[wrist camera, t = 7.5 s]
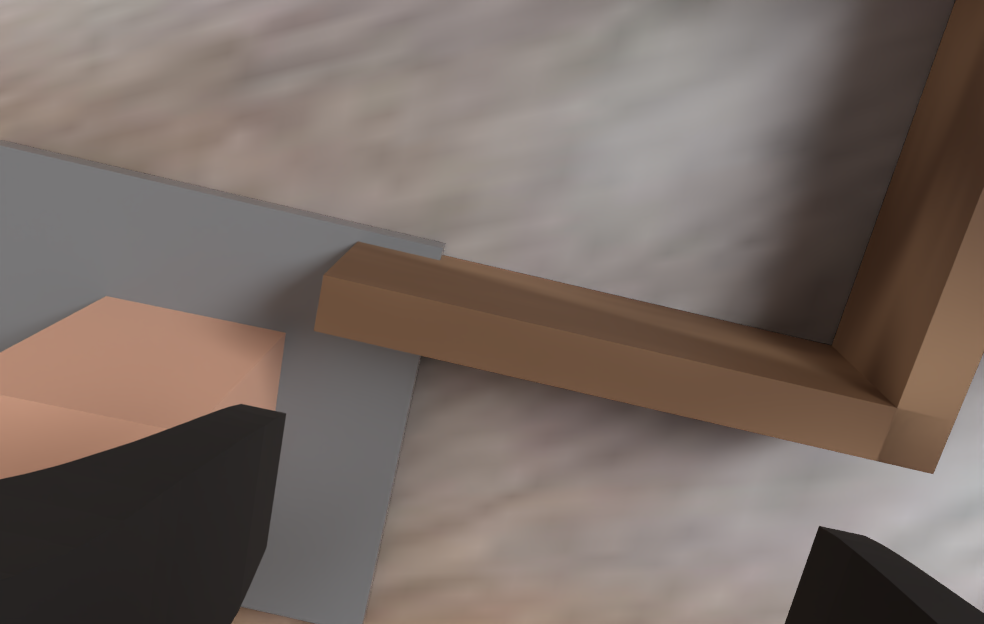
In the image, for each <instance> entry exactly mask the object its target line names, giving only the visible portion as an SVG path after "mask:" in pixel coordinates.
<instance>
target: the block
mask: <svg viewBox="0 0 984 624" xmlns="http://www.w3.org/2000/svg"><path fill="white" fill-rule="evenodd" d="M285 336H286V333H285V332H280V331H275V330H270V329H265V328H260V327H255V326H250V325H245V324H240V323H236V322H231V321H226V320H221V319H216V318H211V317H206V316H201V315H196V314H192V313H187V312H182V311H177V310H172V309H167V308H162V307H157V306H152V305H147V304H143V303H138V302H133V301H128V300H123V299H118V298H113V297H108V296H105V297H103V298H102V299H100V300H98V301H96V302H94V303H92V304H90V305H88V306H87V307H85V308H83V309H81V310H79V311H77V312H75V313H73V314H71V315H70V316H68V317H66V318H64V319H62V320H60V321H58V322H56V323H55V324H53V325H51V326H49V327H47V328H45V329H43V330H41V331H40V332H38V333H36V334H34V335H32V336H30V337H28V338H26V339H25V340H23V341H21V342H19V343H17V344H15V345H13V346H11V347H10V348H8V349H6V350H4V351H2V352H0V479H4V478H8V477H13V476H17V475H22V474H26V473H30V472H34V471H38V470H42V469H46V468H50V467H54V466H57V465H61V464H65V463H68V462H71V461H74V460H78V459H81V458H84V457H87V456H90V455H93V454H96V453H99V452H103V451H106V450H109V449H112V448H115V447H118V446H121V445H124V444H128V443H131V442H134V441H137V440H139V439H142V438H145V437H148V436H150V435H153V434H156V433H158V432H161V431H164V430H167V429H169V428H172V427H175V426H177V425H180V424H183V423H185V422H188V421H191V420H193V419H196V418H199V417H201V416H204V415H207V414H209V413H212V412H215V411H218V410H221V409H224V408H227V407H230V406H234V405H238V404H245V405H249V406H254V407H259V408H263V409H268V410H273V411H275V410H276V402H277V395H278V387H279V380H280V373H281V365H282V358H283V350H284V343H285Z"/></svg>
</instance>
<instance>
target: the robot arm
mask: <svg viewBox="0 0 984 624" xmlns="http://www.w3.org/2000/svg"><path fill="white" fill-rule="evenodd" d="M285 419H286V413H282V412H278V411H273V410H268V409H263V408H259V407H254V406H249V405H245V404H238V405H234V406H230V407H227V408H224V409H221V410H218V411H215V412H212V413H209V414H207V415H204V416H201V417H199V418H196V419H193V420H191V421H188V422H185V423H183V424H180V425H177V426H175V427H172V428H169V429H167V430H164V431H161V432H158V433H156V434H153V435H150V436H148V437H145V438H142V439H139V440H137V441H134V442H131V443H128V444H124V445H121V446H118V447H115V448H112V449H109V450H106V451H103V452H99V453H96V454H93V455H90V456H87V457H84V458H81V459H78V460H74V461H71V462H68V463H65V464H61V465H57V466H54V467H50V468H46V469H42V470H38V471H34V472H30V473H26V474H22V475H17V476H13V477H8V478H4V479H0V624H231V623H232V621H233V619H234V618H235V616H236V614H237V613H238V611H239V609H240V607H241V605H242V602H243V600H244V598H245V596H246V594H247V591H248V589H249V587H250V585H251V583H252V580H253V578H254V576H255V573H256V571H257V569H258V566H259V564H260V562H261V560H262V557H263V555H264V553H265V550H266V548H267V541H268V535H269V528H270V521H271V514H272V507H273V501H274V494H275V487H276V480H277V474H278V467H279V460H280V453H281V446H282V440H283V433H284V426H285ZM785 624H984V613H982V612H981V611H980V610H978V609H977V608H975V607H974V606H972V605H971V604H969V603H968V602H967V601H965V600H964V599H962V598H961V597H960V596H958V595H957V594H955V593H954V592H952V591H951V590H950V589H948V588H947V587H945V586H944V585H942V584H941V583H939V582H938V581H937V580H935V579H934V578H932V577H931V576H929V575H928V574H927V573H925V572H924V571H922V570H921V569H919V568H918V567H916V566H915V565H913V564H912V563H910V562H909V561H907V560H906V559H904V558H903V557H901V556H900V555H898V554H897V553H895V552H893V551H892V550H890V549H888V548H887V547H885V546H883V545H882V544H880V543H878V542H876V541H874V540H872V539H870V538H868V537H866V536H864V535H859V534H854V533H849V532H845V531H840V530H835V529H830V528H826V527H821V526H819V528H818V531H817V534H816V537H815V539H814V542H813V545H812V548H811V551H810V554H809V556H808V559H807V562H806V565H805V568H804V571H803V573H802V576H801V579H800V582H799V585H798V588H797V590H796V593H795V596H794V599H793V602H792V605H791V607H790V610H789V613H788V616H787V619H786V622H785Z"/></svg>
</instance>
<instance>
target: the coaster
mask: <svg viewBox="0 0 984 624" xmlns="http://www.w3.org/2000/svg"><path fill="white" fill-rule="evenodd" d="M358 241H359V242H363V243H367V244H372V245H376V246H380V247H384V248H389V249H393V250H397V251H402V252H406V253H410V254H415V255H419V256H423V257H427V258H432V259H436V260H441V258H442V256H443V252H444V247H445V243H442V242H437V241H433V240H429V239H425V238H420V237H416V236H412V235H407V234H403V233H399V232H394V231H390V230H386V229H382V228H377V227H373V226H369V225H364V224H360V223H356V222H352V221H347V220H343V219H339V218H334V217H330V216H326V215H321V214H317V213H313V212H309V211H304V210H300V209H296V208H291V207H287V206H283V205H278V204H274V203H270V202H266V201H261V200H257V199H253V198H248V197H244V196H240V195H236V194H231V193H227V192H223V191H218V190H214V189H210V188H205V187H201V186H197V185H193V184H188V183H184V182H180V181H175V180H171V179H167V178H163V177H158V176H154V175H150V174H145V173H141V172H137V171H132V170H128V169H124V168H120V167H115V166H111V165H107V164H102V163H98V162H94V161H89V160H85V159H81V158H77V157H72V156H68V155H64V154H59V153H55V152H51V151H47V150H42V149H38V148H34V147H29V146H25V145H21V144H16V143H12V142H8V141H4V140H0V352H2V351H4V350H6V349H8V348H10V347H11V346H13V345H15V344H17V343H19V342H21V341H23V340H25V339H26V338H28V337H30V336H32V335H34V334H36V333H38V332H40V331H41V330H43V329H45V328H47V327H49V326H51V325H53V324H55V323H56V322H58V321H60V320H62V319H64V318H66V317H68V316H70V315H71V314H73V313H75V312H77V311H79V310H81V309H83V308H85V307H87V306H88V305H90V304H92V303H94V302H96V301H98V300H100V299H102V298H103V297H105V296H108V297H113V298H118V299H123V300H128V301H133V302H138V303H143V304H147V305H152V306H157V307H162V308H167V309H172V310H177V311H182V312H187V313H192V314H196V315H201V316H206V317H211V318H216V319H221V320H226V321H231V322H236V323H240V324H245V325H250V326H255V327H260V328H265V329H270V330H275V331H280V332H285V333H286V336H285V343H284V350H283V358H282V365H281V373H280V380H279V387H278V395H277V402H276V410H275V411H278V412H282V413H286V419H285V426H284V433H283V440H282V446H281V453H280V460H279V467H278V474H277V480H276V487H275V494H274V501H273V507H272V514H271V521H270V528H269V535H268V541H267V548H266V550H265V553H264V555H263V557H262V560H261V562H260V564H259V566H258V569H257V571H256V573H255V576H254V578H253V580H252V583H251V585H250V587H249V589H248V591H247V594H246V596H245V598H244V600H243V602H242V605H241V607H245V608H249V609H254V610H258V611H263V612H267V613H271V614H276V615H280V616H285V617H289V618H293V619H298V620H302V621H307V622H311V623H315V624H364V620H365V616H366V611H367V607H368V602H369V597H370V593H371V588H372V583H373V579H374V574H375V569H376V565H377V560H378V555H379V551H380V546H381V541H382V537H383V532H384V527H385V523H386V518H387V513H388V509H389V504H390V499H391V495H392V490H393V485H394V481H395V476H396V471H397V467H398V462H399V457H400V453H401V448H402V443H403V439H404V434H405V429H406V425H407V420H408V415H409V411H410V406H411V401H412V397H413V392H414V387H415V383H416V378H417V373H418V369H419V364H420V359H421V356H420V355H416V354H412V353H407V352H403V351H399V350H394V349H390V348H386V347H381V346H377V345H373V344H368V343H364V342H360V341H355V340H351V339H347V338H342V337H338V336H334V335H329V334H325V333H321V332H316V331H314V326H315V320H316V315H317V309H318V303H319V297H320V292H321V286H322V280H323V275H324V274H325V273H326V272H327V271H328V270H329V269H330V268H331V267H332V266H333V265H334V264H335V263H336V262H337V261H338V260H339V259H340V258H341V257H342V256H343V255H344V254H345V253H346V252H348V251H349V250H350V249H351V248H352V247H353V246H354V245H355V244H356V243H357V242H358Z"/></svg>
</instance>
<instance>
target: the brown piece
mask: <svg viewBox="0 0 984 624" xmlns="http://www.w3.org/2000/svg"><path fill="white" fill-rule="evenodd" d="M314 331H316V332H321V333H325V334H329V335H334V336H338V337H342V338H347V339H351V340H355V341H360V342H364V343H368V344H373V345H377V346H381V347H386V348H390V349H394V350H399V351H403V352H407V353H412V354H416V355H420V356H425V357H429V358H433V359H438V360H442V361H446V362H451V363H455V364H459V365H463V366H468V367H472V368H476V369H481V370H485V371H489V372H494V373H498V374H502V375H507V376H511V377H515V378H520V379H524V380H528V381H533V382H537V383H541V384H546V385H550V386H554V387H559V388H563V389H567V390H572V391H576V392H580V393H585V394H589V395H593V396H598V397H602V398H606V399H611V400H615V401H619V402H624V403H628V404H632V405H637V406H641V407H645V408H650V409H654V410H658V411H663V412H667V413H671V414H676V415H680V416H684V417H689V418H693V419H697V420H702V421H706V422H710V423H715V424H719V425H723V426H728V427H732V428H736V429H741V430H745V431H749V432H754V433H758V434H762V435H767V436H771V437H775V438H780V439H784V440H788V441H792V442H797V443H801V444H805V445H810V446H814V447H818V448H823V449H827V450H831V451H836V452H840V453H844V454H849V455H853V456H857V457H862V458H866V459H870V460H875V461H879V462H883V463H888V464H892V465H896V466H901V467H905V468H909V469H914V470H918V471H922V472H927V473H931V474H933V473H934V471H935V468H936V466H937V464H938V461H939V459H940V456H941V454H942V452H943V449H944V447H945V444H946V442H947V439H948V437H949V435H950V432H951V430H952V427H953V425H954V423H955V420H956V418H957V415H958V413H959V411H960V408H961V406H962V403H963V401H964V398H965V396H966V394H967V391H968V389H969V386H970V384H971V382H972V379H973V377H974V374H975V372H976V369H977V367H978V365H979V362H980V360H981V357H982V355H983V353H984V0H956V1H955V3H954V6H953V9H952V12H951V15H950V17H949V20H948V23H947V26H946V28H945V31H944V34H943V37H942V40H941V42H940V45H939V48H938V51H937V54H936V56H935V59H934V62H933V65H932V67H931V70H930V73H929V76H928V79H927V81H926V84H925V87H924V90H923V92H922V95H921V98H920V101H919V104H918V106H917V109H916V112H915V115H914V118H913V120H912V123H911V126H910V129H909V131H908V134H907V137H906V140H905V143H904V145H903V148H902V151H901V154H900V156H899V159H898V162H897V165H896V168H895V170H894V173H893V176H892V179H891V182H890V184H889V187H888V190H887V193H886V195H885V198H884V201H883V204H882V207H881V209H880V212H879V215H878V218H877V220H876V223H875V226H874V229H873V232H872V234H871V237H870V240H869V243H868V246H867V248H866V251H865V254H864V257H863V259H862V262H861V265H860V268H859V271H858V273H857V276H856V279H855V282H854V284H853V287H852V290H851V293H850V296H849V298H848V301H847V304H846V307H845V310H844V312H843V315H842V318H841V321H840V323H839V326H838V329H837V332H836V335H835V337H834V340H833V343H832V345H827V344H823V343H819V342H814V341H810V340H806V339H801V338H797V337H793V336H789V335H784V334H780V333H776V332H771V331H767V330H763V329H758V328H754V327H750V326H746V325H741V324H737V323H733V322H728V321H724V320H720V319H715V318H711V317H707V316H703V315H698V314H694V313H690V312H685V311H681V310H677V309H672V308H668V307H664V306H660V305H655V304H651V303H647V302H642V301H638V300H634V299H629V298H625V297H621V296H617V295H612V294H608V293H604V292H599V291H595V290H591V289H586V288H582V287H578V286H574V285H569V284H565V283H561V282H556V281H552V280H548V279H543V278H539V277H535V276H531V275H526V274H522V273H518V272H513V271H509V270H505V269H500V268H496V267H492V266H488V265H483V264H479V263H475V262H470V261H466V260H462V259H457V258H453V257H449V256H445V255H443V256H442V258H441V260H436V259H432V258H427V257H423V256H419V255H415V254H410V253H406V252H402V251H397V250H393V249H389V248H384V247H380V246H376V245H372V244H367V243H363V242H359V241H358V242H357V243H356V244H355V245H354V246H353V247H352V248H351V249H350V250H349V251H348V252H346V253H345V254H344V255H343V256H342V257H341V258H340V259H339V260H338V261H337V262H336V263H335V264H334V265H333V266H332V267H331V268H330V269H329V270H328V271H327V272H326V273H325V274H324V275H323V280H322V286H321V292H320V297H319V303H318V309H317V315H316V320H315V326H314Z"/></svg>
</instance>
